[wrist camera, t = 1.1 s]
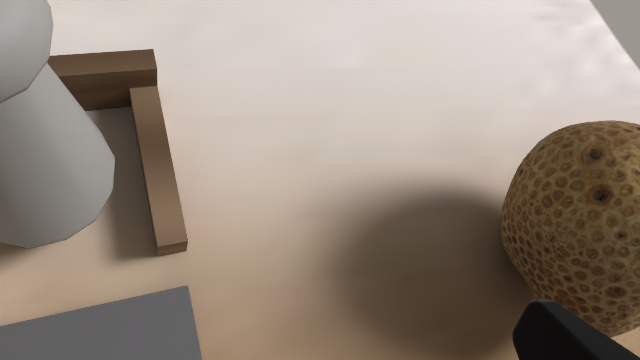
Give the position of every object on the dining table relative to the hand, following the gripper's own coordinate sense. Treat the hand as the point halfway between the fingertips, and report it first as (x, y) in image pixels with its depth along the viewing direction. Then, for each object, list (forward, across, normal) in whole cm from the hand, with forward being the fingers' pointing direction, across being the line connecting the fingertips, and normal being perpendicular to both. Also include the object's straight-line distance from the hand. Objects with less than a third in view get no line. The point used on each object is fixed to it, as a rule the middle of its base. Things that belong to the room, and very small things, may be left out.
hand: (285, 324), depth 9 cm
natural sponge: (+13, -17, +9) cm, 23 cm away
